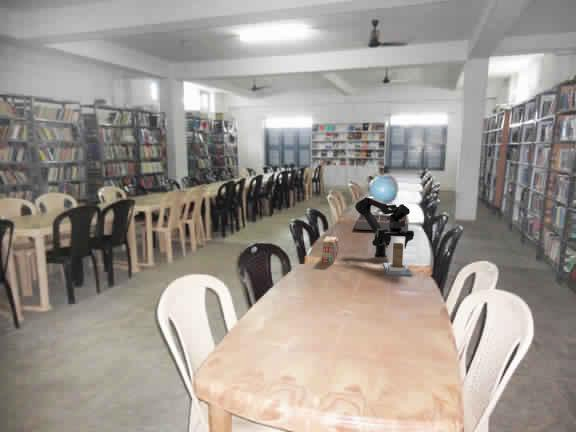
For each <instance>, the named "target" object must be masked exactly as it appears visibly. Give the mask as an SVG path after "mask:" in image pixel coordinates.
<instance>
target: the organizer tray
mask: <svg viewBox="0 0 576 432" xmlns="http://www.w3.org/2000/svg"><path fill="white" fill-rule="evenodd" d="M390 215H391V214H373V216H374V217H375V219H376V220H377V222H378V223H379V225H380V226H381V228H382V229H387V230H388V232H390V226H389V220H387V219H388V217H389V216H390ZM401 221H405V227H401V229H402V230H401V232H403V233H406V230H409V224H410V219H409V216H408V215H407V216H406V217H405V218H404V219H402V220H400V222H401ZM354 222H355V230H364V231H365V230H366V231H367V230H368V231H373V230H372V228H371V227H370V225H369V223H368V222H367V220H366V219H365V217H364V216H363V215H361V214H360V213H358V214H357V216H356V218H355V220H354Z"/></svg>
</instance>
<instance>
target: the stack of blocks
mask: <svg viewBox="0 0 576 432" xmlns="http://www.w3.org/2000/svg"><path fill="white" fill-rule="evenodd" d="M337 254H338V255H339V238H338V237H337V236H327V235H326V236H325V238H324V239H323V241H322V263H327V264H330V263H331V264H334V263H335V262H336V259H337V257H336V256H338V255H337Z"/></svg>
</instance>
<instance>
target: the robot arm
mask: <svg viewBox="0 0 576 432" xmlns="http://www.w3.org/2000/svg"><path fill="white" fill-rule="evenodd" d="M372 206H373V207H375V208H377V209H379V210H380V212H381V213H383V215H390V216H389V217H388V219H387V220H389V226H390V231H388V230H387V229H382V228H381V226H380V225H379V223H378V222H377V220H376V219H375V217H374V216H373V215H374V214H373V213H372V211H371V209H372ZM354 208H355V210H356V212H357V213H358V214H359V213H360V214H361V215H363V216H364V217H365V219H366V220H367V222H368V223H369V225H370V227H371V228H372V230H371V231H373V233H374V239H373V240H372V242H371V244H372V246H374V247H375V252H374V257H376V258H377V257H379V258H380V257H381V258H387V257H388V256H387V253H386V252H387V251H386V250H387V249H388V246H390V243H391V241H392V237H401V238H402V237H404V244H403V249H406V248H407V245H408V243H409V242H410V241H412V240H414V236H415V231H414V230H412V229H410V230H409V229H408V230H406V232H402V231H401V230H402V229H401V227H405V221H401V222H400V220H402V219H404V218H405V217H406V216H408V215H410V213H411V211H410V208H409V207H407V206H406V205H405V204H404V203H401V204H399V205H398V206H397V204H396V203H392V202H385V201H383V200H380V199H378V198H376V197H374V196H371V195H369V196H365V197H364V198H362V199H361V200H359V201H357V202H356V203H355V206H354Z"/></svg>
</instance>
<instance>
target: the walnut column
mask: <svg viewBox="0 0 576 432" xmlns="http://www.w3.org/2000/svg"><path fill="white" fill-rule="evenodd" d="M403 259H404V244H403V243H401V242H393V244H392V261H391V263H392V267H394V268H402V263H403V261H404V260H403Z"/></svg>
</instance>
